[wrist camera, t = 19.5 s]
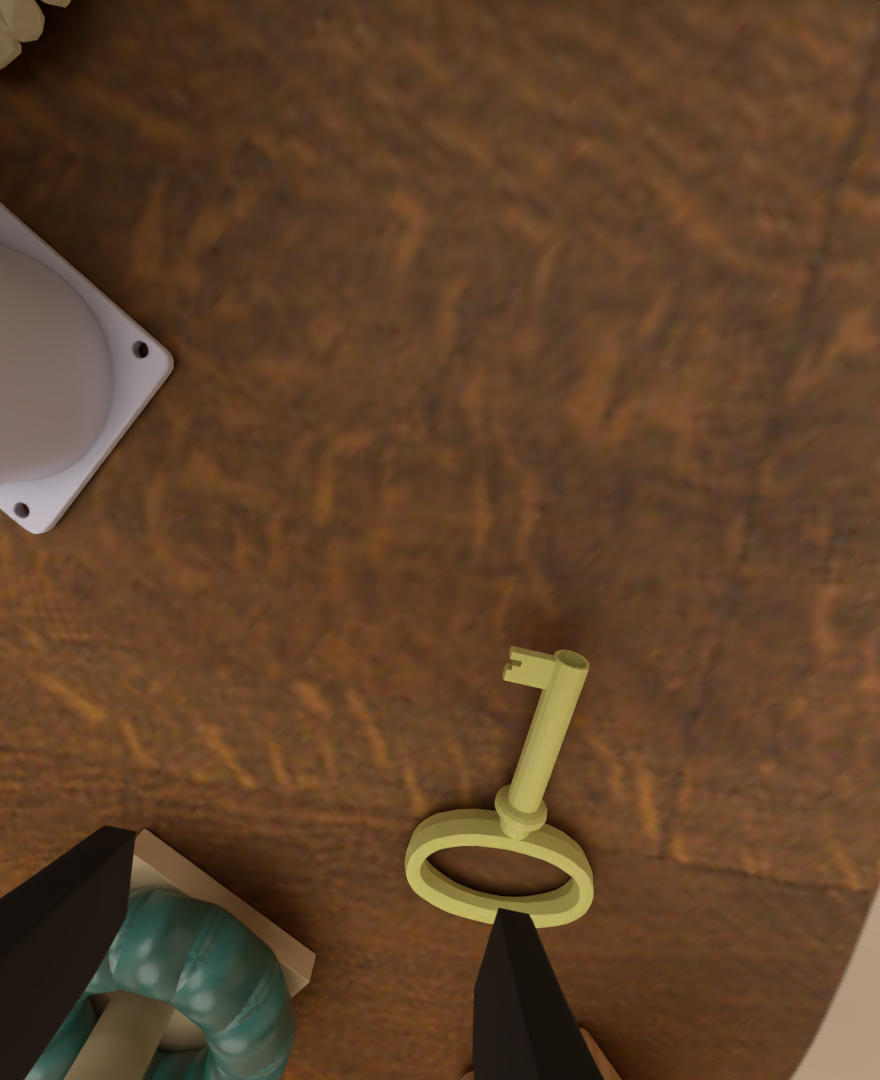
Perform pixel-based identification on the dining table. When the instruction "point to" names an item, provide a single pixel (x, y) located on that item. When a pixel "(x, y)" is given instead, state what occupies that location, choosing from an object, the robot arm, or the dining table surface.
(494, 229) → the dining table surface
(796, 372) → the dining table surface
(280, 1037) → the ring
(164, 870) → the post stand
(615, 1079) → the decorative item
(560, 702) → the key
